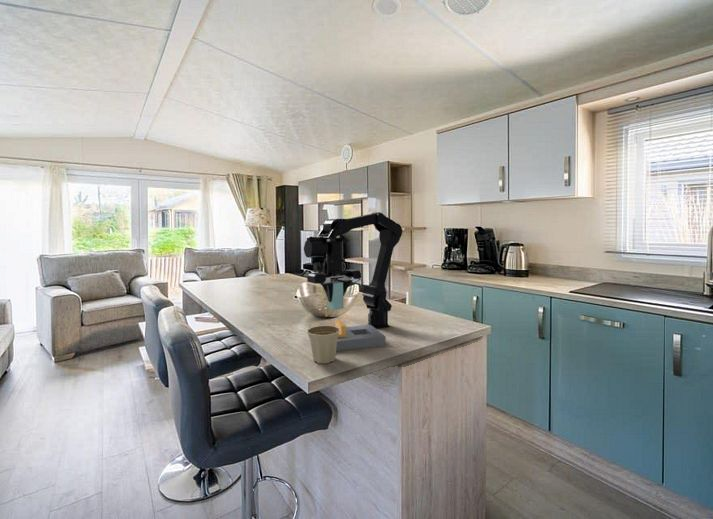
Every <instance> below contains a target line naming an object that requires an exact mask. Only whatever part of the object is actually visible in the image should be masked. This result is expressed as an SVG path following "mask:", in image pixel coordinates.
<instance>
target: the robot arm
mask: <svg viewBox="0 0 713 519" xmlns="http://www.w3.org/2000/svg"><path fill="white" fill-rule="evenodd" d="M371 225H373V226H374V228H375V230H377V231H378V232H379V234H378V235H379V236H378V238H379V242H380V248H379V251H378V255H377V260H376V264H375V267H374V271H373V276H372V280H371V282H370V283H369V284H366V285H364V290H363V293H362V294H361V296H363V297H362V299H363V302H364V304H365V307H366V309H369V313H368V314H367V316H368V318H367V325H372V326H373V327H374V328H375V329H380V328H383V329H384V328H390V324H389V319H388V318H389V317H388V316H389V312H390V311H391V310H392V304H391V303H390V301H388V300H387V288H386V281H387V277H388V273H389V268H390V264H391V260H392V258H393V252H394V248H395V247H396V246H397V245H398V243H399V242H400V241H401V237H402V235H403V232H404V231H403V228H402V226H401V224H400V223H397V222H395V221H394V220H393V219H391V218H389V217H387V216H386V215H385V214H384V213H383V212H380V211H378V212H377V211H376V212H375V211H374V212H370V213H366V214H364V215H358V216H354V217H350V218H329V219H326V220H325V221H324V222H323V225H322V228H321V230H320V232H319V233H318V234H317V236H306V241H305V242H304V246H303V253H304V255H305V257H306V258H321V257H325V256H326V257H325V258H324V259H323V263H321V262H320V261H319V262H313V273H312V272H311V273H308V274H307V277H306V281H307V283H311V284H315V285H316V284H319V285H321V287H322V288H323V291H324V293H325V295H326V298H328V301H329V302H331V301H332V291H333V283H331V282H332V281H331V280H335V279H336V281H338V282H343V298H344V296H345V294H346V292H347V290H348V288H349V286H350V285H351V283H353V282H354V281H353V280H359V279H362V272H361V271H360V270H358V269H353V268H351V269H344V263H346V258H344V244H343V243H348V242H349V239H348V238H347V237H346V236H345V235H346V234H347V233H349V232H351V231H352V230H355V229H358V228H363V227H367V226H371ZM351 278H353V279H351Z"/></svg>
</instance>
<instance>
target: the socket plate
mask: <svg viewBox="0 0 713 519" xmlns="http://www.w3.org/2000/svg"><path fill="white" fill-rule="evenodd" d="M376 346H377V347H384V346H386V335H385V334H384V333H382V332H380V330H378V328H374V327H373V326H372V325H369V324H366V325H355V326H354V325H353V326H346V337H339V338H338V339H337V347H336V352H338V351H340V352H341V351H348V350H349V351H350V350H357V349H366V348H368V349H369V348H374V347H376ZM377 347H376V348H377Z"/></svg>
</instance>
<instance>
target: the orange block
mask: <svg viewBox="0 0 713 519" xmlns="http://www.w3.org/2000/svg"><path fill="white" fill-rule="evenodd" d="M334 320H335V321H334V322H335V323H334V326H335V327H338V328H340V332H339V336H338V338H339V337H346V327H347V325H346V324H345V323H343V321H342V320H341V319H334Z"/></svg>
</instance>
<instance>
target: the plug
mask: <svg viewBox="0 0 713 519" xmlns="http://www.w3.org/2000/svg"><path fill="white" fill-rule="evenodd" d="M330 282H331V283H333V291H332V301H331V302H329V301H328V298H327V297H326V298H327V299H326V300H327V302H326V304H327V305H326V306H327V309H329V310H331V311H337V310H342V309H344V297H343V282H338V281H337V280H336V281H335V280H334V281H330Z"/></svg>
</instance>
